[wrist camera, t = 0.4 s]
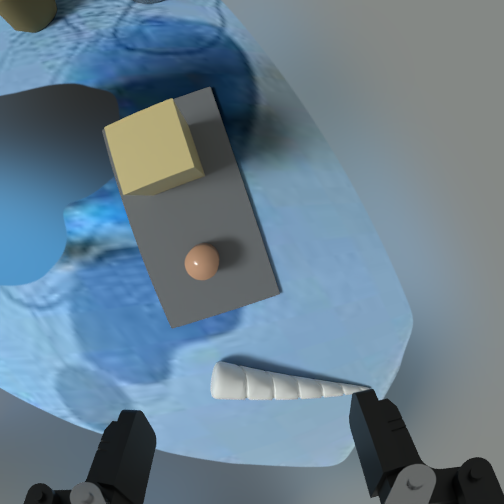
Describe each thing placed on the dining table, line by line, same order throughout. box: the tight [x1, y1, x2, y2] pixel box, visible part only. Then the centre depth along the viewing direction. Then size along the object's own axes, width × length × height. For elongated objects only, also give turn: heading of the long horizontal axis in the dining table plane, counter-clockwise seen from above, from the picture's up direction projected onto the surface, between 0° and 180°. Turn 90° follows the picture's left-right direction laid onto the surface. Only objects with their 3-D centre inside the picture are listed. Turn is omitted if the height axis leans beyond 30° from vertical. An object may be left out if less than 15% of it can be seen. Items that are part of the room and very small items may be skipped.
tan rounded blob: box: [185, 243, 220, 280], centre depth 33 cm, size 4×4×3 cm
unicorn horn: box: [211, 361, 370, 400], centre depth 37 cm, size 5×24×5 cm, turn 73°
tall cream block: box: [104, 98, 205, 196], centre depth 28 cm, size 6×6×10 cm
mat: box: [102, 87, 280, 328], centre depth 34 cm, size 26×14×1 cm, turn 18°
